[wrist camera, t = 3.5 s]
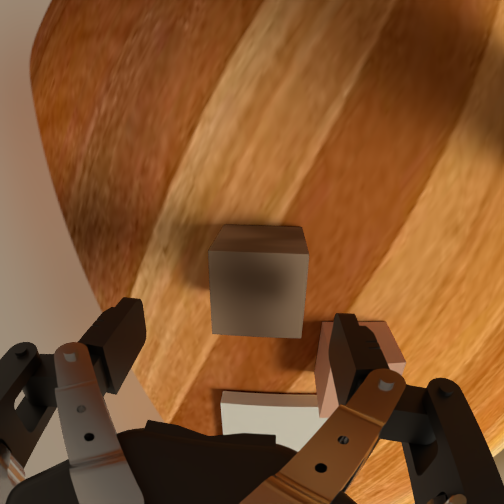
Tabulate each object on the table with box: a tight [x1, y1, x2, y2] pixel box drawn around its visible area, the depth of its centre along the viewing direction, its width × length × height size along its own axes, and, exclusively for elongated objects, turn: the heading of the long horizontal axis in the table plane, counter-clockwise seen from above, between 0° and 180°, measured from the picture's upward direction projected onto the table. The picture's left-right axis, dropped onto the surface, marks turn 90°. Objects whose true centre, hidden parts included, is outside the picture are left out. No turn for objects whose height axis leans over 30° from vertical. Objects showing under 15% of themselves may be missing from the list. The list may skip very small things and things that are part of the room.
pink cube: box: [314, 322, 406, 418], centre depth 21 cm, size 5×5×5 cm
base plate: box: [221, 391, 328, 452], centre depth 26 cm, size 12×12×2 cm
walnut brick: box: [208, 225, 309, 338], centre depth 19 cm, size 5×5×5 cm
